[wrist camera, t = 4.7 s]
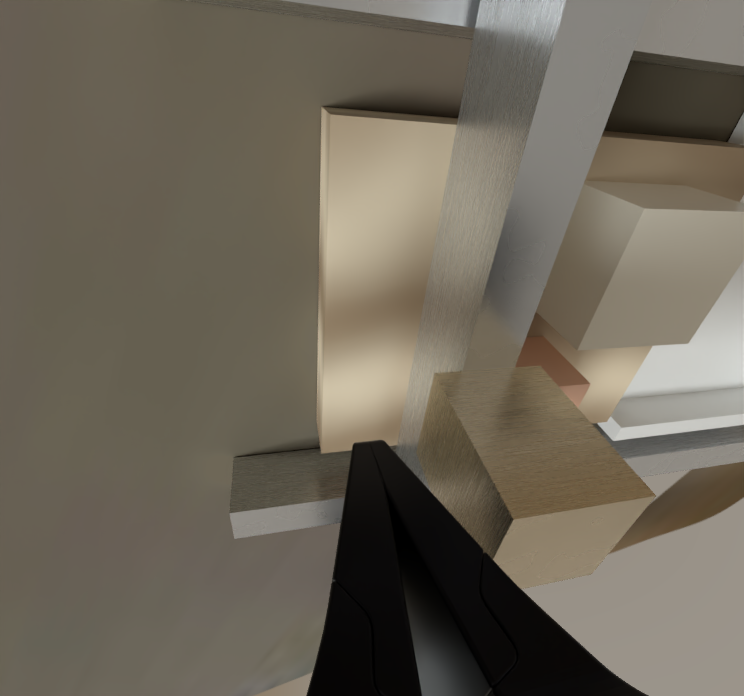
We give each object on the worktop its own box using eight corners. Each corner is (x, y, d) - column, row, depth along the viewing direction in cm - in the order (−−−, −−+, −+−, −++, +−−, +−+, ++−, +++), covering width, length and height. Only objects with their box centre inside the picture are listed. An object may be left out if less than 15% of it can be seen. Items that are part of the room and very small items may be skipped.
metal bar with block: (427, 509, 20) (493, 692, 14) (368, 518, 19) (413, 714, 13) (591, -52, 8) (1298, -283, 3) (458, -79, 8) (1023, -472, 2)
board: (582, 396, 23) (606, 421, 21) (316, 420, 19) (321, 453, 18) (717, 140, 15) (770, 150, 14) (321, 106, 12) (330, 114, 10)
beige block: (626, 301, 16) (688, 343, 14) (528, 304, 15) (577, 350, 13) (686, 185, 14) (774, 212, 11) (573, 179, 13) (644, 208, 10)
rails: (708, 425, 28) (750, 460, 25) (237, 483, 21) (234, 538, 18) (1017, 47, 16) (1152, 44, 13) (137, -127, 9) (89, -196, 6)
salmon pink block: (511, 415, 19) (546, 466, 17) (421, 424, 18) (445, 480, 16) (543, 336, 16) (590, 384, 14) (440, 341, 15) (472, 393, 13)
